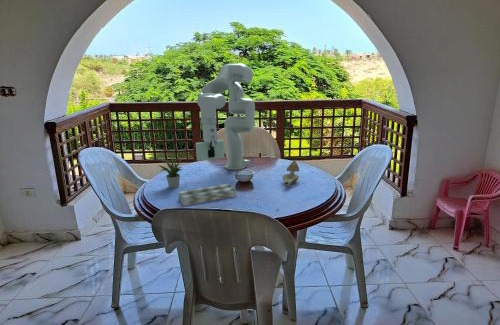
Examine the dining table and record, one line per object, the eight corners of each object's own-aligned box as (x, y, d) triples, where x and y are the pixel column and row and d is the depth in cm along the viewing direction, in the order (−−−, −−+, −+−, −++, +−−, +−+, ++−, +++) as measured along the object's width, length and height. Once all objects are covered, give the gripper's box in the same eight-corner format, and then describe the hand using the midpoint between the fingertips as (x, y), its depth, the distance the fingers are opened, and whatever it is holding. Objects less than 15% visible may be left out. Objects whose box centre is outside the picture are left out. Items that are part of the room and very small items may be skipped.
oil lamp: (301, 177, 190) (302, 160, 187) (294, 190, 170) (294, 171, 168) (286, 176, 192) (286, 159, 190) (277, 188, 173) (277, 170, 170)
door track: (229, 189, 173) (229, 183, 172) (236, 196, 164) (236, 189, 163) (178, 197, 163) (178, 191, 162) (183, 205, 155) (183, 198, 154)
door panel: (222, 156, 176) (222, 139, 174) (224, 157, 174) (223, 140, 172) (196, 160, 171) (195, 142, 168) (198, 161, 169) (196, 143, 166)
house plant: (179, 179, 189) (177, 151, 185) (194, 185, 180) (192, 155, 175) (156, 186, 180) (153, 156, 175) (170, 192, 170) (168, 161, 166)
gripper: (221, 122, 161) (222, 159, 167) (211, 117, 175) (213, 152, 181) (206, 124, 158) (208, 161, 164) (197, 119, 173) (199, 153, 178)
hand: (210, 156), depth 172 cm, fingers closed on door panel, 2 cm apart
